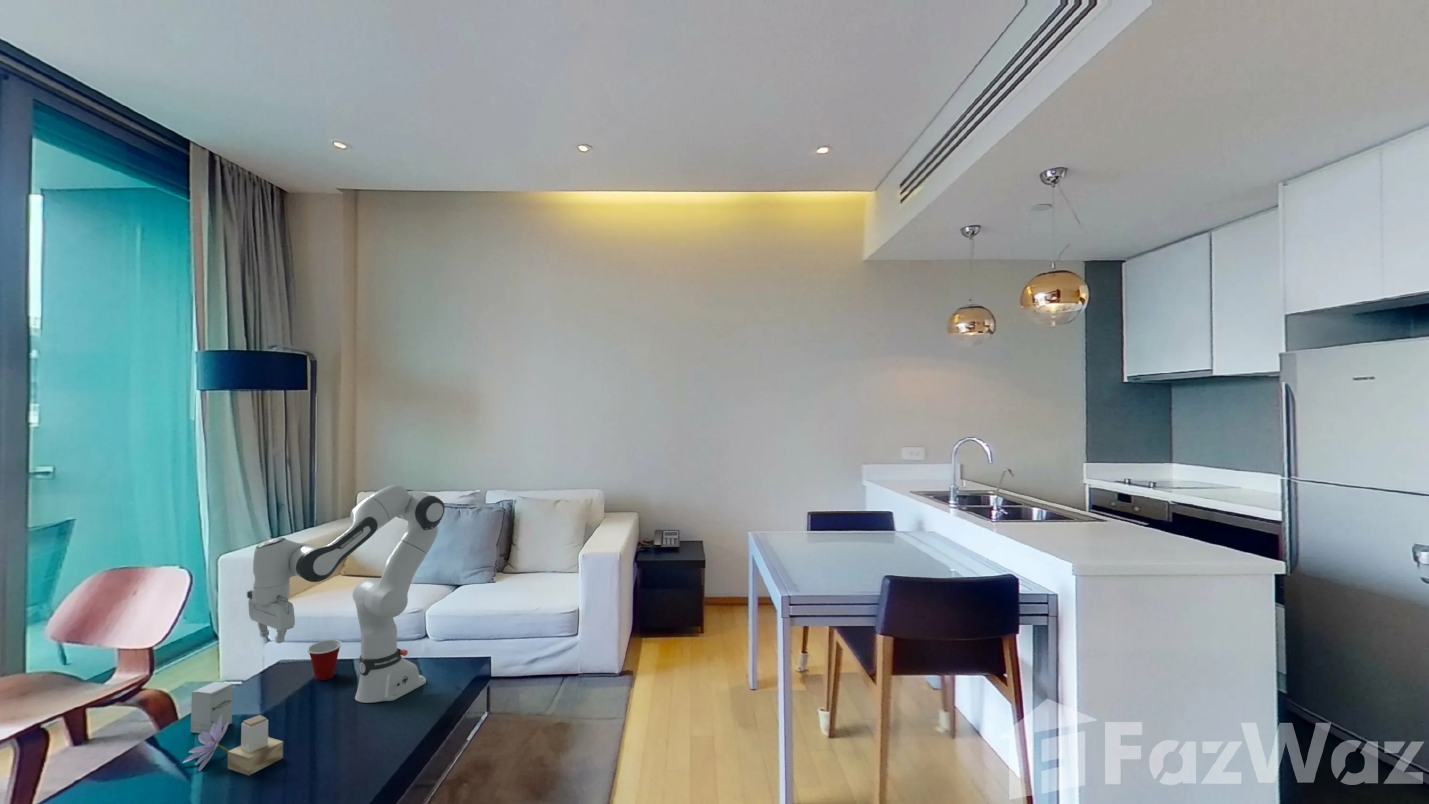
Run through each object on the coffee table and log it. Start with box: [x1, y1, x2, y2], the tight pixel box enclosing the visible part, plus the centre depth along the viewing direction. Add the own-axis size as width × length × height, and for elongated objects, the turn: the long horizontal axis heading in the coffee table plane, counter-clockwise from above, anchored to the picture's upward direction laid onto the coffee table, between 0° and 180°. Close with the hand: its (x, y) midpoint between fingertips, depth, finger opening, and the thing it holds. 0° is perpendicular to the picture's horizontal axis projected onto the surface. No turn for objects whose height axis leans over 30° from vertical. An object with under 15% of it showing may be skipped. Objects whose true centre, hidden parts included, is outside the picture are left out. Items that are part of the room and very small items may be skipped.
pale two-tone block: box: [240, 714, 269, 753], centre depth 170 cm, size 5×5×8 cm
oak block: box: [227, 736, 284, 776], centre depth 171 cm, size 9×9×5 cm
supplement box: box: [190, 681, 234, 734], centre depth 190 cm, size 7×7×13 cm
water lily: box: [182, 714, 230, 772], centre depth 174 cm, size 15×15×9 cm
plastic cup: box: [306, 639, 343, 681], centre depth 226 cm, size 11×11×12 cm
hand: (272, 639), depth 183 cm, fingers open, 8 cm apart
